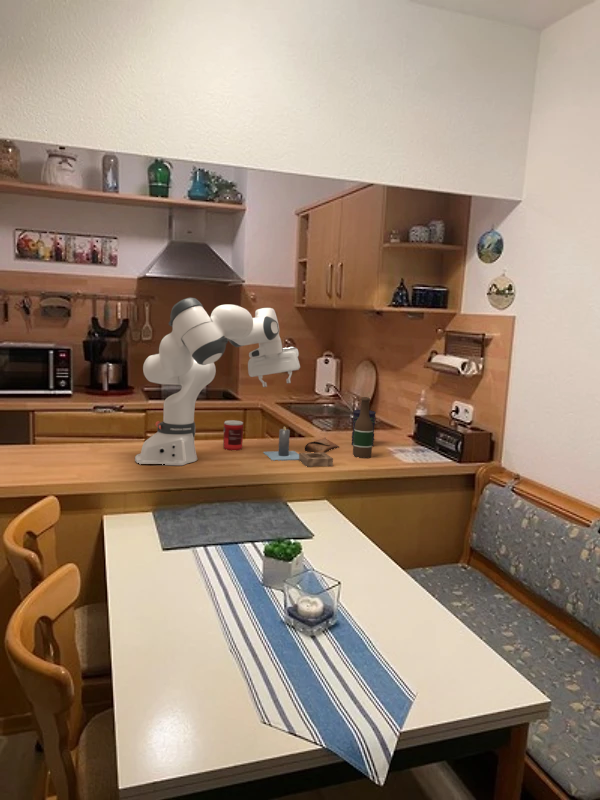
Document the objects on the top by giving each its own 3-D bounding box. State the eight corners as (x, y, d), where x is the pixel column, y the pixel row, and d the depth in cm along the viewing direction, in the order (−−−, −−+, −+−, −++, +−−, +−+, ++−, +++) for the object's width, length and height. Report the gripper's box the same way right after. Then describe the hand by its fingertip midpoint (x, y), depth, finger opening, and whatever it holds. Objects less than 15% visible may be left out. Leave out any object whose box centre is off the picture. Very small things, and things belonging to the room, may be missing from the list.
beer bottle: (368, 459, 242) (372, 399, 239) (350, 457, 245) (353, 397, 241) (373, 455, 249) (377, 397, 246) (355, 453, 252) (358, 395, 249)
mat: (271, 460, 232) (271, 459, 232) (263, 452, 245) (263, 451, 244) (304, 459, 236) (304, 458, 236) (294, 452, 249) (294, 450, 248)
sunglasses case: (323, 454, 247) (316, 439, 248) (309, 460, 250) (302, 445, 251) (340, 446, 263) (334, 432, 264) (327, 452, 266) (321, 438, 267)
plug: (279, 456, 238) (281, 428, 236) (277, 453, 242) (278, 426, 240) (289, 456, 239) (291, 427, 238) (286, 453, 243) (288, 425, 241)
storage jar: (377, 447, 266) (379, 413, 264) (357, 447, 262) (359, 413, 260) (367, 442, 275) (369, 409, 273) (347, 442, 272) (349, 409, 269)
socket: (307, 467, 225) (307, 459, 225) (298, 460, 235) (299, 452, 234) (332, 466, 228) (333, 458, 228) (323, 459, 238) (323, 452, 237)
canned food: (231, 445, 255) (232, 419, 254) (246, 448, 251) (247, 422, 249) (219, 448, 249) (219, 421, 247) (233, 451, 244) (234, 424, 243)
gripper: (298, 345, 240) (303, 380, 242) (246, 353, 242) (252, 388, 243) (297, 345, 234) (302, 381, 235) (244, 354, 235) (250, 389, 237)
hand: (276, 384), depth 239 cm, fingers open, 8 cm apart
